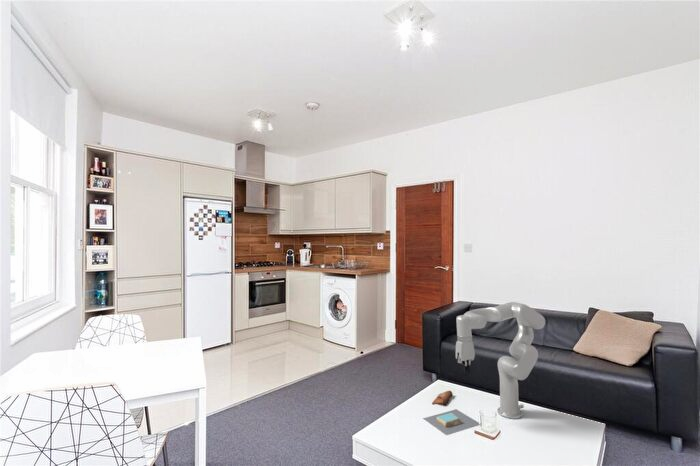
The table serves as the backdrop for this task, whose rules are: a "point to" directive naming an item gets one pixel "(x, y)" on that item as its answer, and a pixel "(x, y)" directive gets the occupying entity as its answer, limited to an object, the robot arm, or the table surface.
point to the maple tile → (448, 420)
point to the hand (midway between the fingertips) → (466, 372)
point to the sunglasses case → (443, 398)
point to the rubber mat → (464, 424)
